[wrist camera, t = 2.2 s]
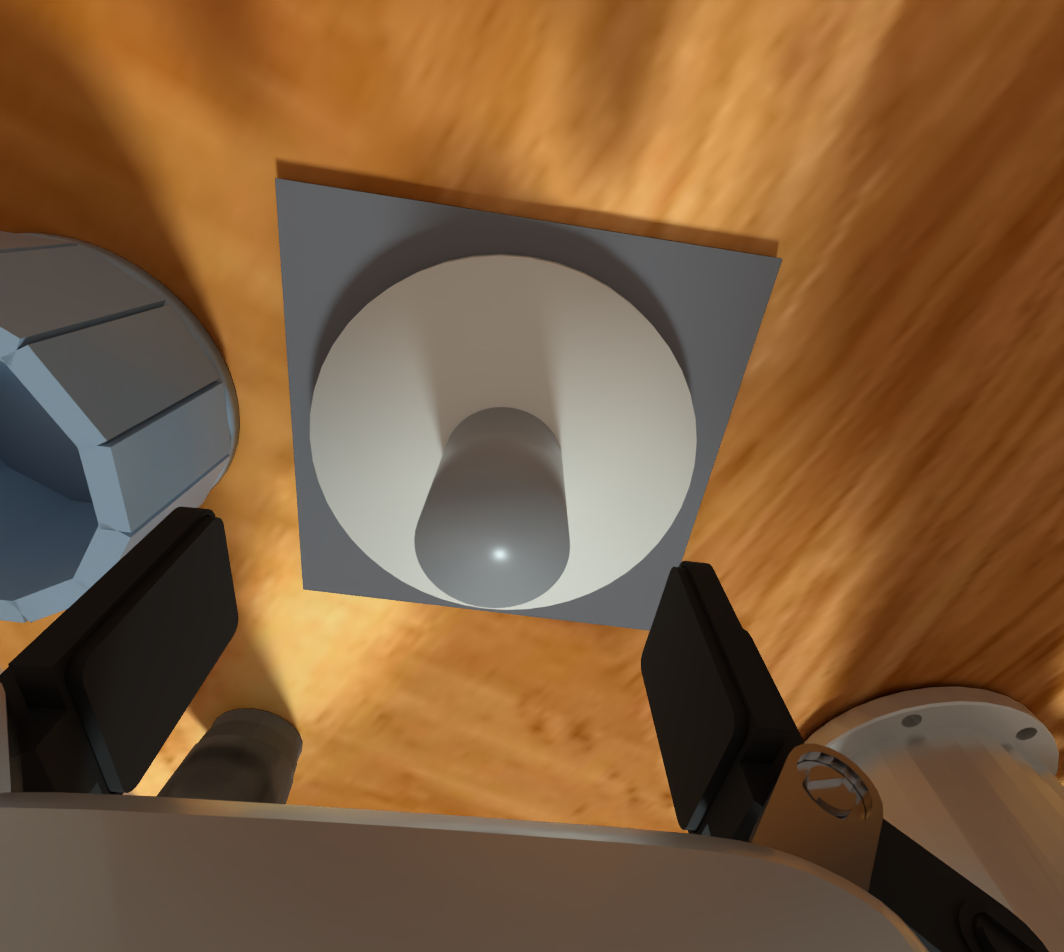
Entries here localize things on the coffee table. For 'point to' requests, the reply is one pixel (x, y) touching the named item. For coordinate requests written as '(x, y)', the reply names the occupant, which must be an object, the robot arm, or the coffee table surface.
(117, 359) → the bowl
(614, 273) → the mat
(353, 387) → the lid
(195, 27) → the coffee table surface
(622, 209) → the coffee table surface
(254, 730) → the beverage cup
